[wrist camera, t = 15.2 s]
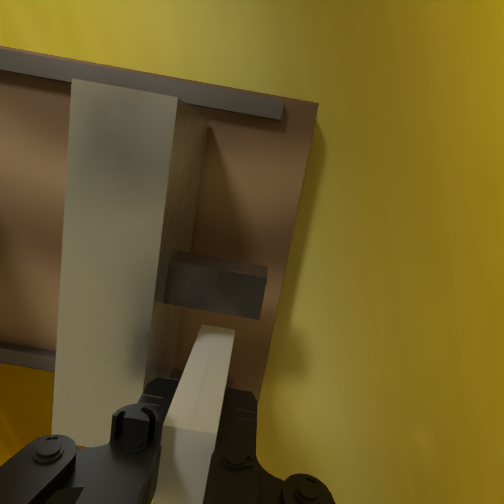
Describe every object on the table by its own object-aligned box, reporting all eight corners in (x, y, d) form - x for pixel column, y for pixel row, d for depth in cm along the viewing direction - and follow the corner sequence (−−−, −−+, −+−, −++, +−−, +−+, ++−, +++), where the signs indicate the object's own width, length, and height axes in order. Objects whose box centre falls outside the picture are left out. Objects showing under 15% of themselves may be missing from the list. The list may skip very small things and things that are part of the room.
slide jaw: (140, 107, 16) (71, 78, 11) (288, 134, 16) (301, 119, 11) (116, 356, 19) (50, 440, 13) (242, 378, 19) (232, 471, 13)
